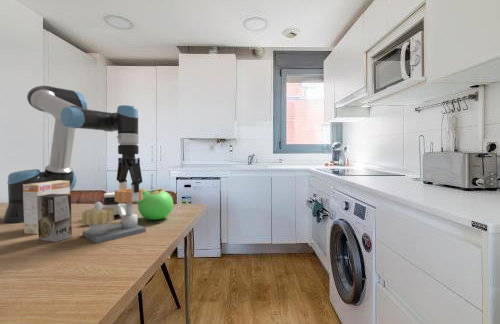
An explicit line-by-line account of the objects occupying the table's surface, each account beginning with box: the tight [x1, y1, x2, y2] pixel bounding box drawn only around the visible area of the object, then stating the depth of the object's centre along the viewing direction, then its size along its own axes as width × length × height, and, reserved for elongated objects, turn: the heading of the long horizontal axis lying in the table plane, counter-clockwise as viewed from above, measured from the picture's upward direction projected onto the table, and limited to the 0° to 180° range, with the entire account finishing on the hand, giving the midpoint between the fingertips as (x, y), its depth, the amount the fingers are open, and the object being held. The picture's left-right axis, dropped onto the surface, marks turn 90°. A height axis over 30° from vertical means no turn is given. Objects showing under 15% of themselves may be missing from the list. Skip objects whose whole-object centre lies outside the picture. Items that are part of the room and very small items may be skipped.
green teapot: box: [134, 188, 174, 221], centre depth 124 cm, size 18×17×15 cm
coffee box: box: [37, 193, 73, 243], centre depth 96 cm, size 9×6×16 cm
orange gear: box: [114, 188, 143, 203], centre depth 106 cm, size 10×10×4 cm
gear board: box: [81, 201, 147, 244], centre depth 101 cm, size 14×20×13 cm
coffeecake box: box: [23, 180, 71, 235], centre depth 108 cm, size 15×7×20 cm, turn 168°
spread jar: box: [102, 192, 126, 219], centre depth 129 cm, size 12×11×12 cm
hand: (129, 199), depth 106 cm, fingers closed on orange gear, 10 cm apart
